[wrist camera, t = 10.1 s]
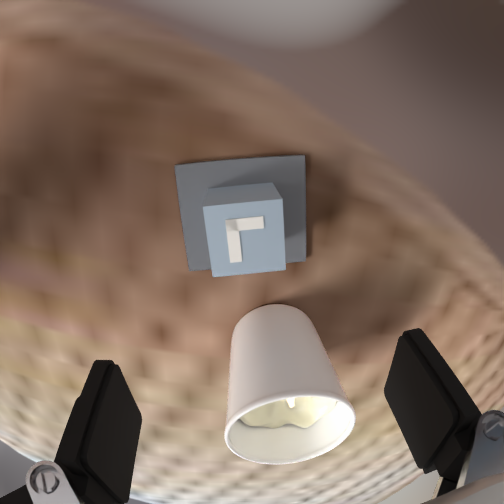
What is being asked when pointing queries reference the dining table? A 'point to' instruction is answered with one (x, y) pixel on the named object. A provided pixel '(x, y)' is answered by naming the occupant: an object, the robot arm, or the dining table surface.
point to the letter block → (245, 229)
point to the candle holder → (283, 390)
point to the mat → (233, 174)
